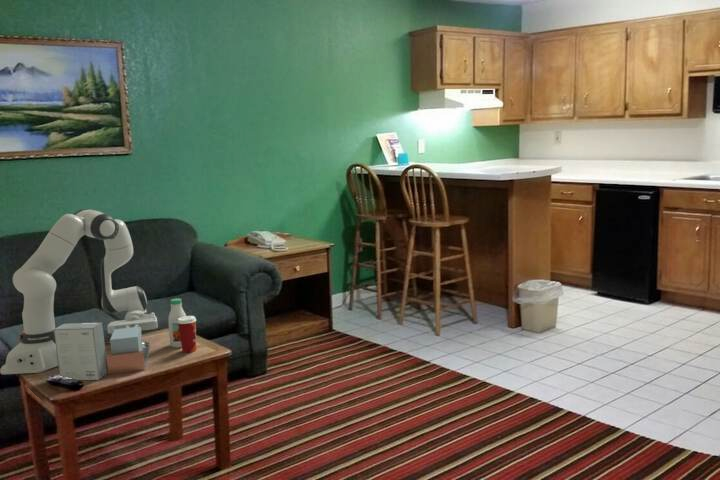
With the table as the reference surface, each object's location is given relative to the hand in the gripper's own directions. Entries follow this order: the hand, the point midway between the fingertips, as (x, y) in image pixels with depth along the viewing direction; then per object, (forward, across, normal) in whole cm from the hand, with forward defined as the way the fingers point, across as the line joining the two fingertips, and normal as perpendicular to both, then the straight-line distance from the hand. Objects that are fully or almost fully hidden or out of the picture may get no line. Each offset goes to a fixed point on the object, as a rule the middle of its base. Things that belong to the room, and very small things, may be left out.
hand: (131, 330), depth 271 cm
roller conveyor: (+10, 0, +9) cm, 14 cm away
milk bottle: (-1, +19, +9) cm, 21 cm away
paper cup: (+8, +23, +9) cm, 26 cm away
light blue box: (+16, 0, +5) cm, 17 cm away
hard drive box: (+26, -15, +9) cm, 31 cm away
